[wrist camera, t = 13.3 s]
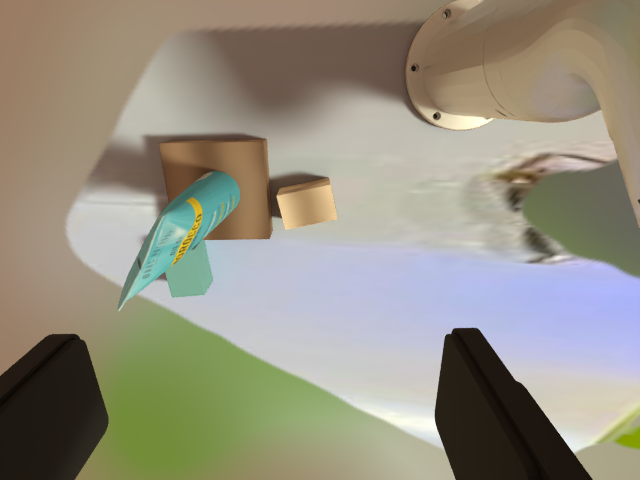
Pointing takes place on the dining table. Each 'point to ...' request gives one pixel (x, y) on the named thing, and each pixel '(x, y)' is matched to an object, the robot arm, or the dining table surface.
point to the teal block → (190, 273)
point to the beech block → (306, 203)
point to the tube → (182, 228)
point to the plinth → (235, 160)
